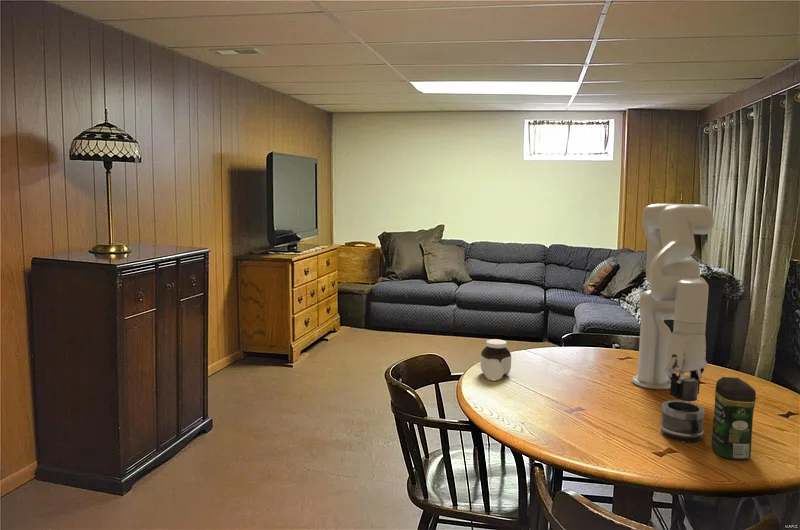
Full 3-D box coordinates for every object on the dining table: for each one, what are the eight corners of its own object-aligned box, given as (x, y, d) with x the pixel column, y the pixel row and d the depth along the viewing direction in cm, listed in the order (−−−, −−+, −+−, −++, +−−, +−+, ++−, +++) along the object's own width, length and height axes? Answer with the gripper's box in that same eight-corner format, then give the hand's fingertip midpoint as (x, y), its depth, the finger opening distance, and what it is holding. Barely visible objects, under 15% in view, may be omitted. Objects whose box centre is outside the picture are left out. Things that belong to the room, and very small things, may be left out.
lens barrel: (677, 424, 170) (679, 397, 169) (711, 438, 161) (714, 410, 160) (651, 431, 165) (653, 403, 164) (685, 445, 156) (687, 417, 155)
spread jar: (502, 369, 217) (503, 337, 216) (519, 379, 207) (520, 346, 205) (472, 373, 213) (473, 340, 212) (487, 383, 203) (488, 349, 201)
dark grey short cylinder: (681, 392, 165) (683, 373, 165) (702, 399, 160) (703, 380, 159) (667, 395, 162) (668, 376, 162) (687, 402, 157) (688, 383, 156)
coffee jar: (706, 443, 157) (712, 373, 155) (739, 445, 156) (745, 375, 154) (719, 460, 148) (725, 386, 145) (754, 463, 147) (761, 388, 144)
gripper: (697, 321, 166) (692, 385, 169) (654, 327, 158) (650, 395, 160) (723, 327, 160) (718, 394, 162) (680, 334, 151) (675, 404, 154)
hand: (684, 394), depth 161 cm, fingers closed on dark grey short cylinder, 6 cm apart
